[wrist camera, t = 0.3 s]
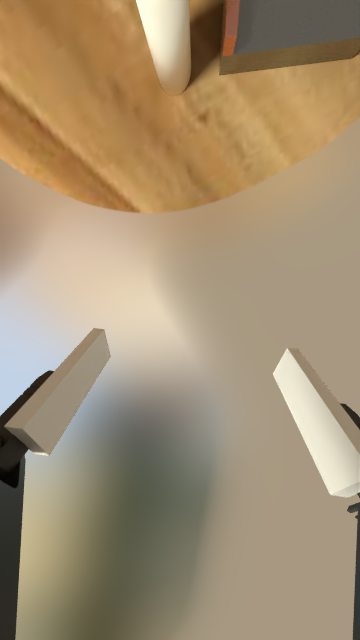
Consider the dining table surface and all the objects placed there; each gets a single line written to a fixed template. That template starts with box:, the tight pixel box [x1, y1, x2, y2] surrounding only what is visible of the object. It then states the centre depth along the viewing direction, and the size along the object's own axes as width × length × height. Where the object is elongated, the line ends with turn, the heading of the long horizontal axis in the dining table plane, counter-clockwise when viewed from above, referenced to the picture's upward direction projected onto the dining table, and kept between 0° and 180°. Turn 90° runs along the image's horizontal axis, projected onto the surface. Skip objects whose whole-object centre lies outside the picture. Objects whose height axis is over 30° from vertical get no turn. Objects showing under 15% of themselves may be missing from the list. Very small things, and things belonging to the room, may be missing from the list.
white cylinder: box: [136, 0, 191, 96], centre depth 17 cm, size 5×5×11 cm
